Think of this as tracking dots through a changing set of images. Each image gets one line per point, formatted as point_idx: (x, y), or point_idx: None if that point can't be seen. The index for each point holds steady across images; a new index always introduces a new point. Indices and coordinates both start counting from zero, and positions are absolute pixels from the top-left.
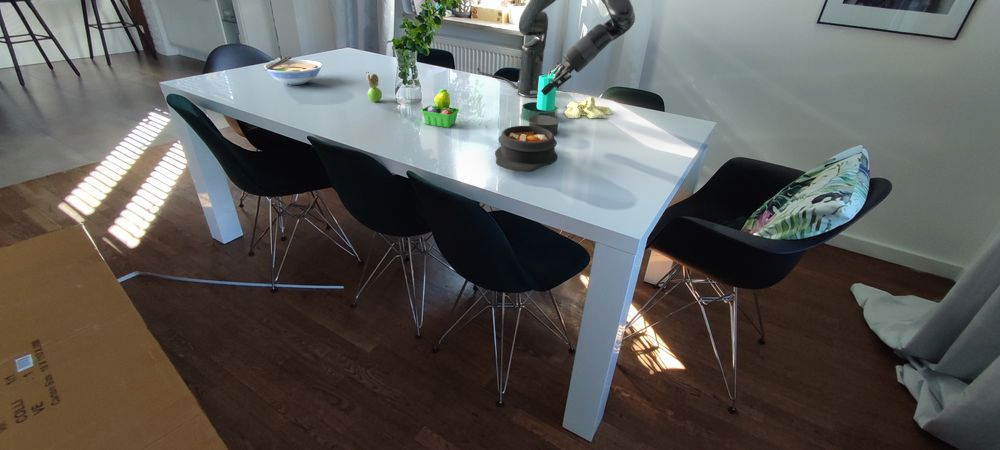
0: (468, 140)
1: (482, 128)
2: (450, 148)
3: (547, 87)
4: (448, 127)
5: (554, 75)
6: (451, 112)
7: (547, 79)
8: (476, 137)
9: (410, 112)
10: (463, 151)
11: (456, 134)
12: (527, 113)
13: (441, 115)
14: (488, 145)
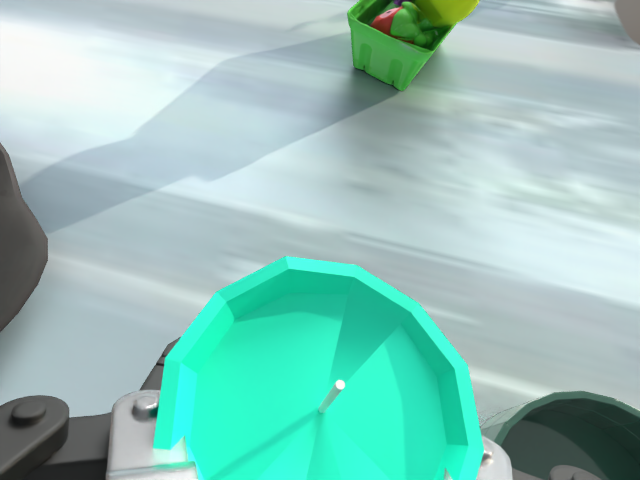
0: (202, 93)
1: (344, 169)
2: (133, 31)
3: (151, 371)
4: (353, 65)
5: (137, 467)
6: (388, 29)
7: (183, 346)
8: (231, 124)
9: (517, 8)
10: (88, 56)
11: (277, 74)
12: (508, 413)
13: (363, 4)
14: (123, 142)
